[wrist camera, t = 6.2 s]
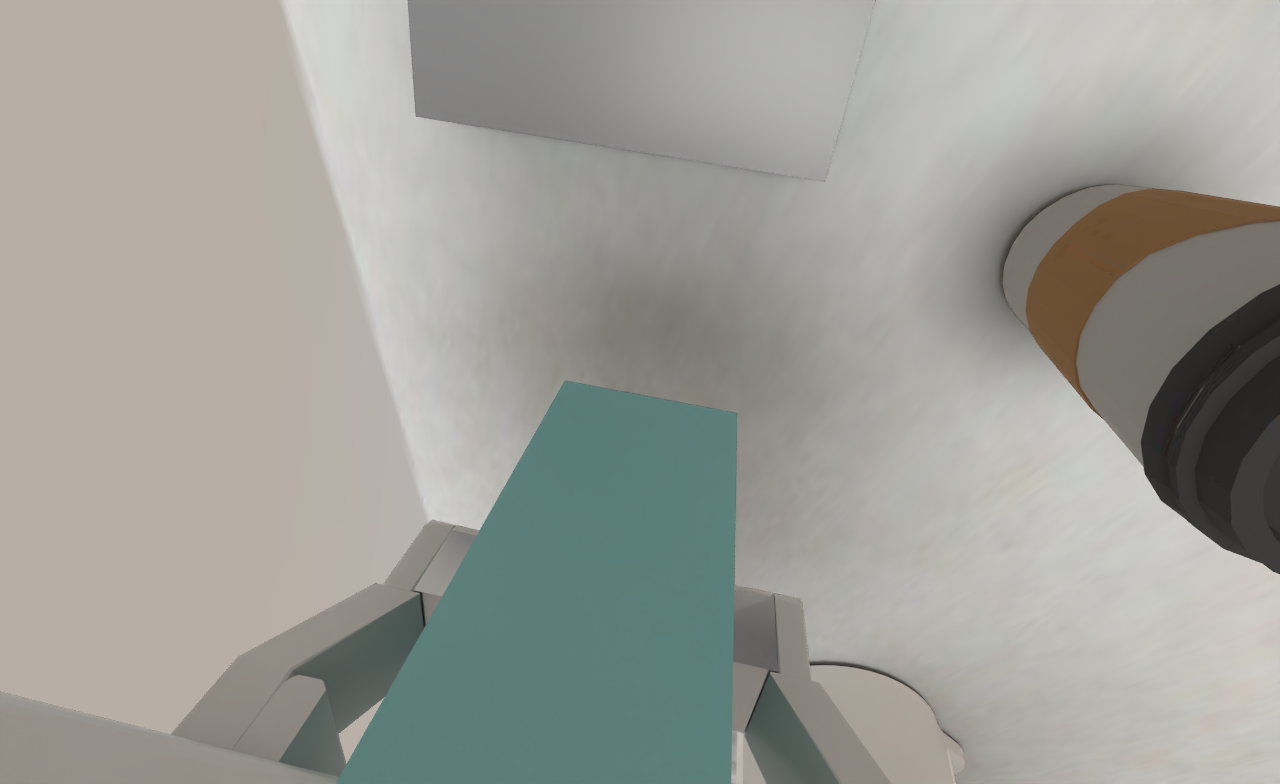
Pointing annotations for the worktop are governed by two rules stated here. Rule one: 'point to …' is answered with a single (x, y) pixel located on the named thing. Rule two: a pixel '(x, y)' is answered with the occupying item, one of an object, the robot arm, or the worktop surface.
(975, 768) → the worktop surface
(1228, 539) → the coffee cup
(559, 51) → the socket
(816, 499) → the worktop surface
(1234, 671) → the worktop surface
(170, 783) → the robot arm
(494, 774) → the plug
